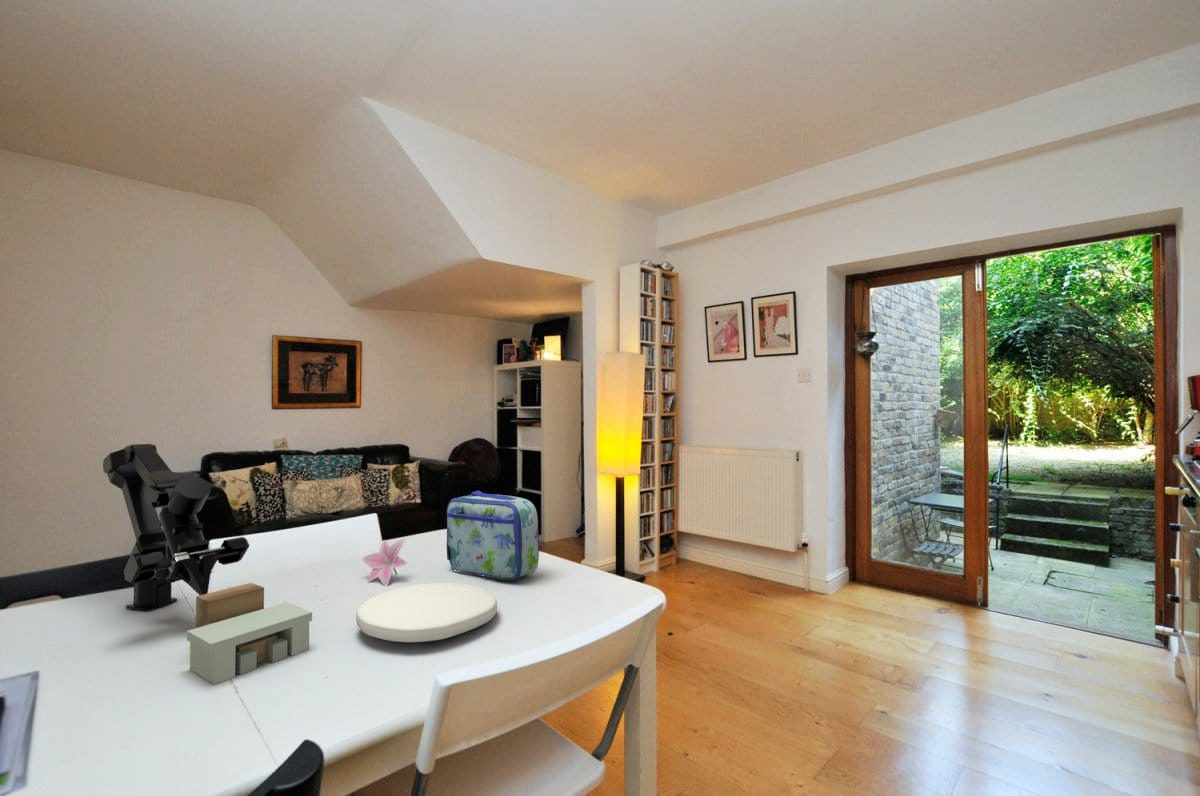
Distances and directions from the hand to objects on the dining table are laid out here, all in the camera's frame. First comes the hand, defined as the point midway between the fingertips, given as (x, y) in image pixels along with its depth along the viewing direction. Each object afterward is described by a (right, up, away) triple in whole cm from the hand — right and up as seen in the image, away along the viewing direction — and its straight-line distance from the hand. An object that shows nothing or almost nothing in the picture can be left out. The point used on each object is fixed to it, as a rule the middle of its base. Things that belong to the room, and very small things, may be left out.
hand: (204, 595), depth 105 cm
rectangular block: (+12, -7, -8) cm, 17 cm away
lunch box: (+47, -8, +38) cm, 61 cm away
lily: (+22, -8, +33) cm, 40 cm away
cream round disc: (+42, -8, +5) cm, 43 cm away
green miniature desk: (+16, -7, -11) cm, 21 cm away
